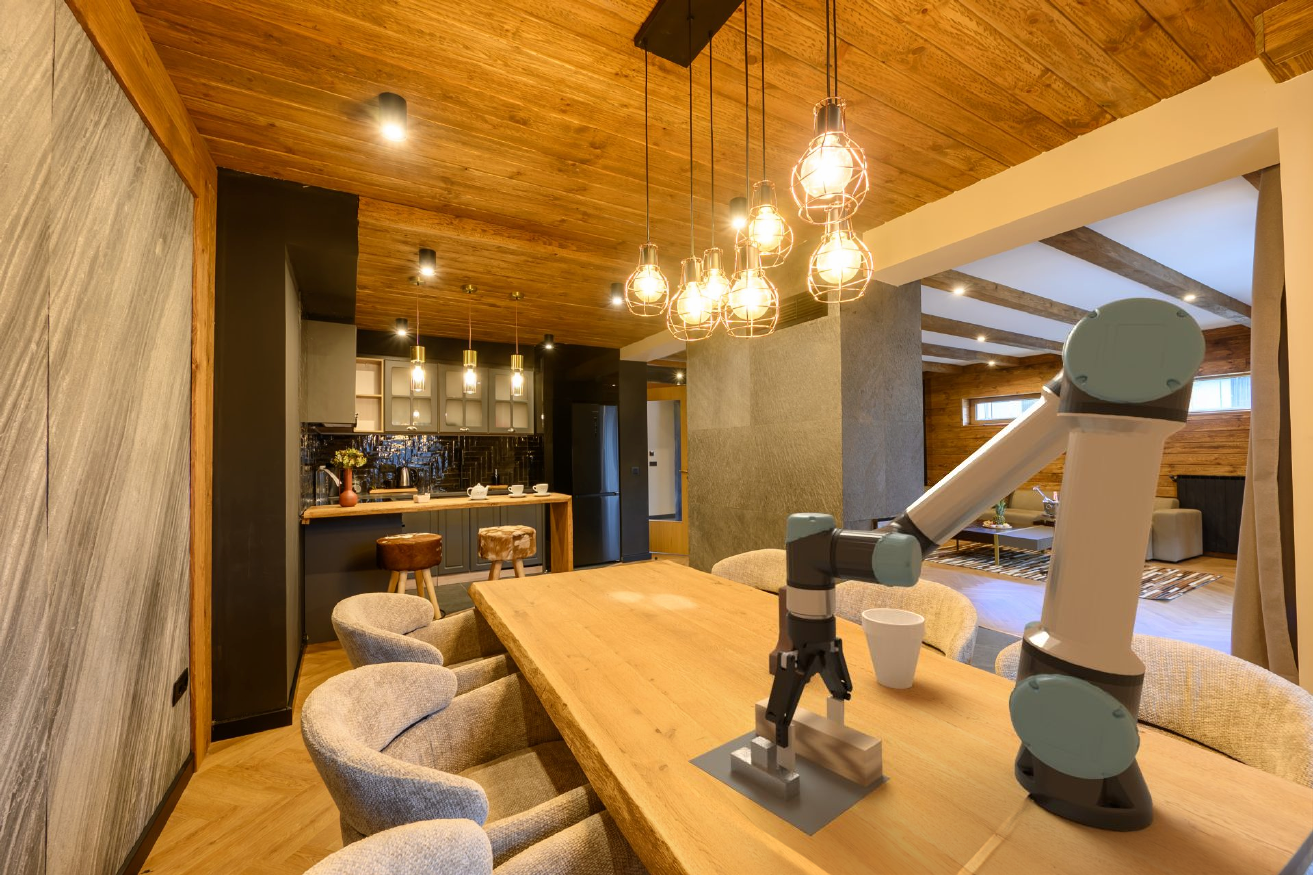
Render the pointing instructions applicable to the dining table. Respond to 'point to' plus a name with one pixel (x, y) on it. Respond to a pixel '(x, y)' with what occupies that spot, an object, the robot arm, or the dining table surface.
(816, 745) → the beech bar
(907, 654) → the cup
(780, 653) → the robot arm
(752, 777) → the fulcrum ridge
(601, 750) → the dining table surface
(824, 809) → the slate board
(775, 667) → the wooden block
